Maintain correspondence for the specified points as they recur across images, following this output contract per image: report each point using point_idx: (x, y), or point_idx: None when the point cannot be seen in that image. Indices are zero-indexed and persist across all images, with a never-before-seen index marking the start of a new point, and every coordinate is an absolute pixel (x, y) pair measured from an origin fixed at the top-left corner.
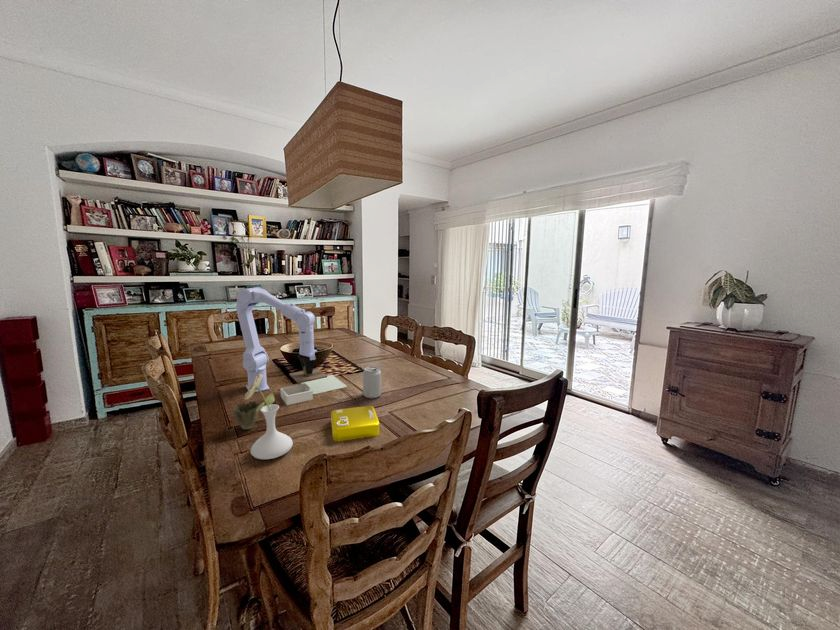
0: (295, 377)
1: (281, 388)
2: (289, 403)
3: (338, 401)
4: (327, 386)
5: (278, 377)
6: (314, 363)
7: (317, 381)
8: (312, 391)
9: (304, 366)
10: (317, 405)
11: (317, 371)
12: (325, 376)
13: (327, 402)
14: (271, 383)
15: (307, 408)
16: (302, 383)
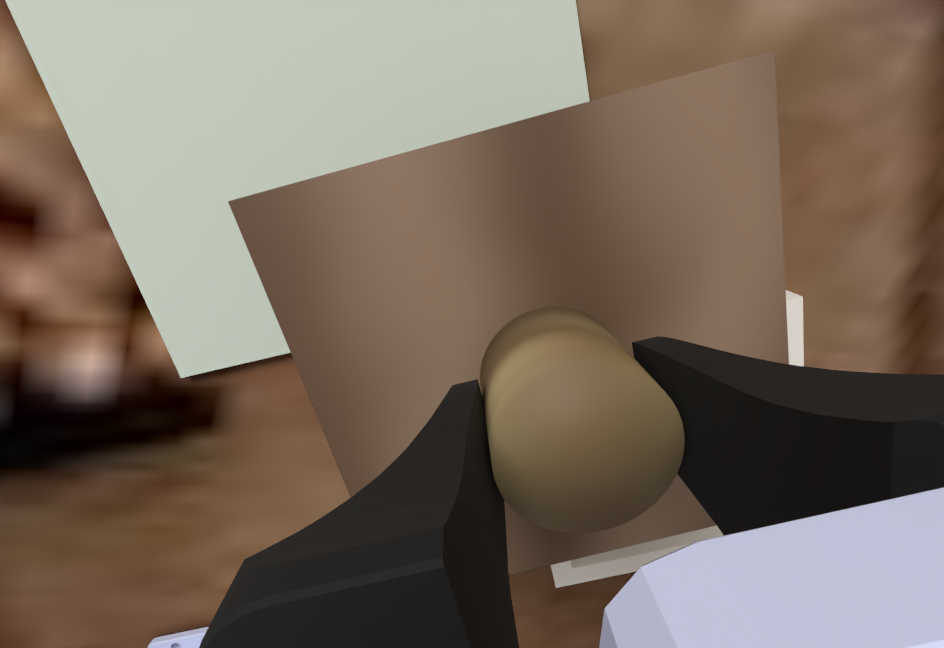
0: (594, 535)
1: (571, 578)
2: None
3: (912, 4)
4: (441, 70)
5: (5, 550)
6: (864, 375)
7: (227, 178)
8: (796, 296)
9: (540, 513)
10: (875, 239)
11: (447, 213)
12: (773, 91)
13: (865, 133)
14: (173, 593)
15: (882, 328)
16: (258, 348)
